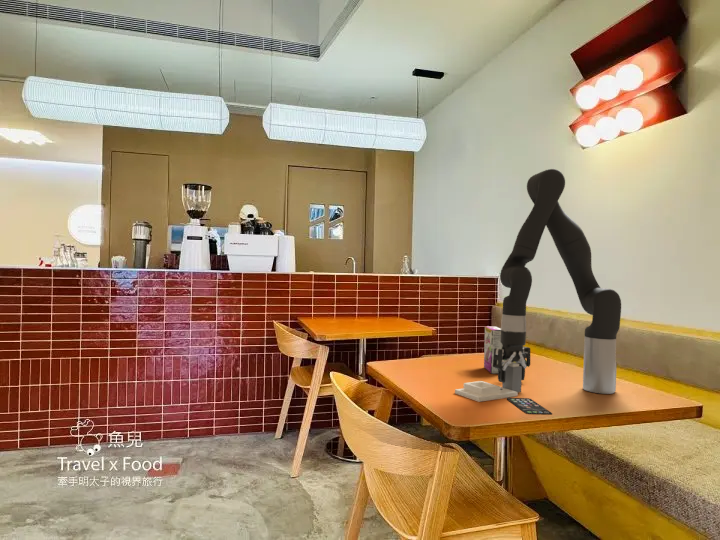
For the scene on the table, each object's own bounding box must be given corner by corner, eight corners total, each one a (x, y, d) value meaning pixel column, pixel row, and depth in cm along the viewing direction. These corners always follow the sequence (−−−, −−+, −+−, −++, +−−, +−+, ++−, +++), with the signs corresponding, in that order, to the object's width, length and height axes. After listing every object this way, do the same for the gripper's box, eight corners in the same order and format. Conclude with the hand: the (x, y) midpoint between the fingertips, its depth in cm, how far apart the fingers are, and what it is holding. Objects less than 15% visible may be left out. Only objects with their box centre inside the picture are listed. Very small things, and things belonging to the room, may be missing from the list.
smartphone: (526, 413, 124) (505, 397, 139) (526, 415, 124) (505, 399, 139) (553, 413, 124) (530, 398, 139) (553, 416, 124) (530, 400, 139)
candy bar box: (482, 367, 185) (484, 325, 185) (495, 368, 185) (497, 326, 185) (490, 373, 173) (491, 329, 174) (504, 374, 173) (505, 329, 173)
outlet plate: (492, 388, 151) (493, 378, 151) (517, 396, 143) (517, 385, 143) (454, 393, 143) (455, 382, 143) (478, 401, 134) (479, 390, 134)
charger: (511, 389, 151) (512, 361, 151) (521, 392, 148) (522, 364, 148) (502, 390, 149) (503, 362, 149) (512, 393, 146) (513, 364, 146)
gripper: (519, 327, 155) (517, 376, 155) (488, 328, 148) (486, 380, 148) (538, 330, 149) (536, 381, 149) (506, 331, 142) (504, 385, 142)
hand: (511, 380), depth 148 cm, fingers open, 8 cm apart
